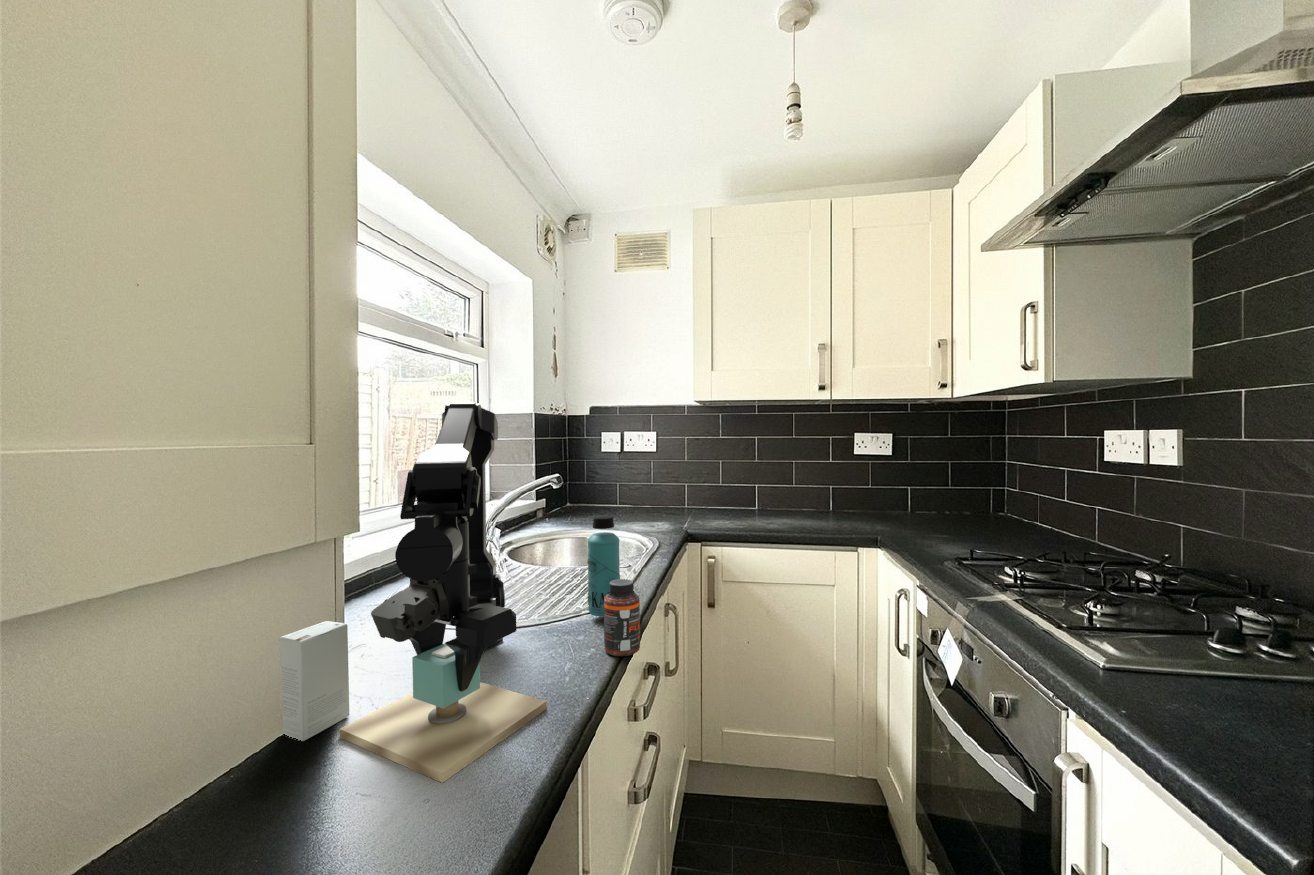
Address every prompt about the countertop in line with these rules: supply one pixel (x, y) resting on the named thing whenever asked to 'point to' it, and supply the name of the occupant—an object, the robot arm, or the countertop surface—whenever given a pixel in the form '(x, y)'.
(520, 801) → the countertop surface
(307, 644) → the skincare box
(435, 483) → the robot arm
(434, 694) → the teal cube with pad
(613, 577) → the beverage bottle
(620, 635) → the supplement bottle
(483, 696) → the post board
